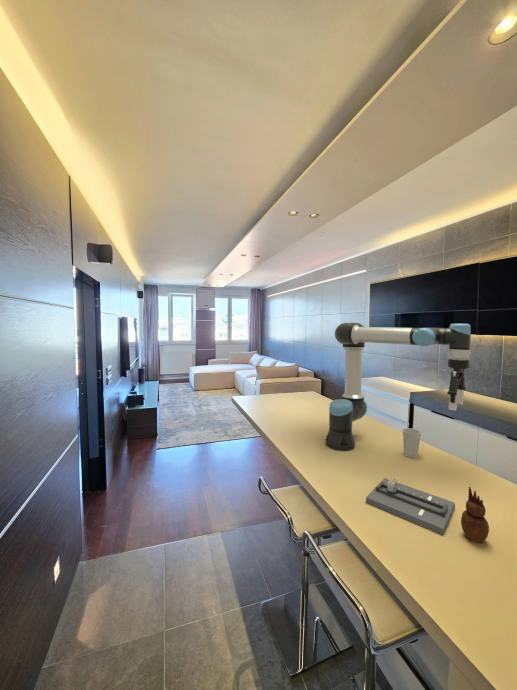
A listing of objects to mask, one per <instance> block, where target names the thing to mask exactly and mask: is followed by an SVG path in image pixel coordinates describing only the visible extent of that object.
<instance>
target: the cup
mask: <svg viewBox="0 0 517 690" xmlns="http://www.w3.org/2000/svg"><path fill="white" fill-rule="evenodd" d="M421 435H422V432H421V430H419V429H416V428H412V427H411V428H409V427H408V428H407V427H404V428H403V429H402V442H403V444H402V445H403V455H404V456H405V457H407V458H413V459H414V458H415V459H416V458H418V457H419V451H420V442H421Z"/></svg>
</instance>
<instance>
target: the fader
mask: <svg viewBox="0 0 517 690" xmlns="http://www.w3.org/2000/svg"><path fill="white" fill-rule="evenodd" d="M397 483H398V479H396V478H394V477H392V478H390V479H389V482H388V486H387V492H390V493H393V494H395V495H397V493H398V489H397Z"/></svg>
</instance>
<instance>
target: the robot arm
mask: <svg viewBox="0 0 517 690" xmlns="http://www.w3.org/2000/svg"><path fill="white" fill-rule="evenodd" d="M471 331H472V330H471V325H470V324H469V323H451V324H450V325H449V327H386V326H385V327H384V326H383V327H381V326H380V327H379V326H378V327H376V326H374V327H373V326H365V325H364V324H362V323H360V322H341V323H340V324H339V325H338V326H337V327H336V329H335V331H334V338H335V340H336V341H337V342H338V343H339V344H341V345H342V348H343V350H344V351H345V352H344V353H345V357H344V358H345V360H344V362H345V363H344V364H345V365H344V366H345V371H344V374H345V378H344V384H345V385H344V393H343V394H342V395H341V399H340V398H339V399H334V400H332V401H331V402H330V403H329V407H328V411H329V414H328V419H329V423H328V425H329V426H328V432H327V434H326V438H325V446H326V447H328V448H329V449H332V450H336V451H340V452H341V451H343V452H347V451H351V450H354V449H355V448H356V440H355V438H354V435H353V422H355V421H357V420H360V419H362V418H363V417H364V416H365V415H366V413H367V411H368V404H367V401H365V396H364V394H363V393H362V364H363V363H362V360H363V359H362V357H363V356H362V353H363V349H364V348H366V347H365V346H366V344H365V343H372V344H388V345H389V344H391V345H405V346H407V345H408V346H419V347H428V346H432V345H433V346H434V345H441V346H442V345H445V346H447V345H448V358H449V359H448V362H447V367H449V368H450V369H453V370H451V372H450V380H449V385H448V391H447V392H446V394H447V395H448V410H449V411H450V410H451V411H455V412H456V411H457V409H458V408H457V405H464V395H465V394H464V391H466V390H467V387H466V385H465V384H466V383H465V382H466V381H465V370H467V369H469V368H470V367H469V365H470V360H469V359H470V355H471V354H472V352H471V351H470V347H471V335H472V334H471V333H472V332H471Z"/></svg>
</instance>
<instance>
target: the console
mask: <svg viewBox="0 0 517 690" xmlns="http://www.w3.org/2000/svg"><path fill="white" fill-rule="evenodd" d="M389 480H390V479H389V478H383V479H382V480H381V481H380V482H379V483H378V484H377V485H376V486H375V487H374V489H372V491H370V493H369V494H368V495H367V496H365V503H367V504H369V505H371V506H373V507H375V508H378V509H381V510H383V511H384V512H387V513H390V514H392V515H395V516H397V517H398V518H401V519H403V520H407V521H408V522H411V523H413V524H416V525H418V526H420V527H423V528H426V529H428V530H430V531H432V532H435V533H437V534H439V535H442V536H444V534H445V533H446V529H447V527H448V524H449V523H450V521H451V517H452V515H453V513H454V511H455V508H456V502H454V501H452V500H448V499H445V498H443V497H440V496H437V495H434V494H431V493H428V492H426V491H422V490H420V489H417V488H414V487H411V486H408V485H406V484H403V483H400V482H397V489H398V493H397V495H395V494H393V493H390V492H387V486H388V482H389Z"/></svg>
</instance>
